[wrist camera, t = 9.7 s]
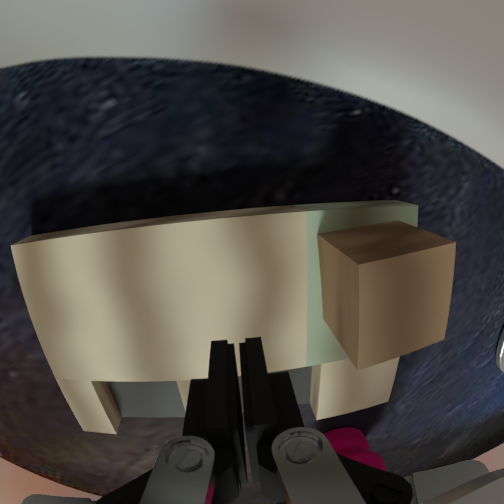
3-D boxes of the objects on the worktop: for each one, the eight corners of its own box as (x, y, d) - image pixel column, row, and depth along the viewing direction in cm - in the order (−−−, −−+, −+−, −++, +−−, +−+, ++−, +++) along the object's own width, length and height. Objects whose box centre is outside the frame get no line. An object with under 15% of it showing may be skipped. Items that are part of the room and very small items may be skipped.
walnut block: (398, 220, 16) (455, 242, 11) (397, 299, 17) (444, 339, 12) (317, 234, 15) (358, 264, 11) (323, 319, 17) (357, 370, 12)
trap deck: (396, 200, 18) (417, 205, 16) (375, 383, 22) (388, 401, 20) (31, 235, 16) (10, 245, 13) (91, 410, 20) (83, 430, 18)
